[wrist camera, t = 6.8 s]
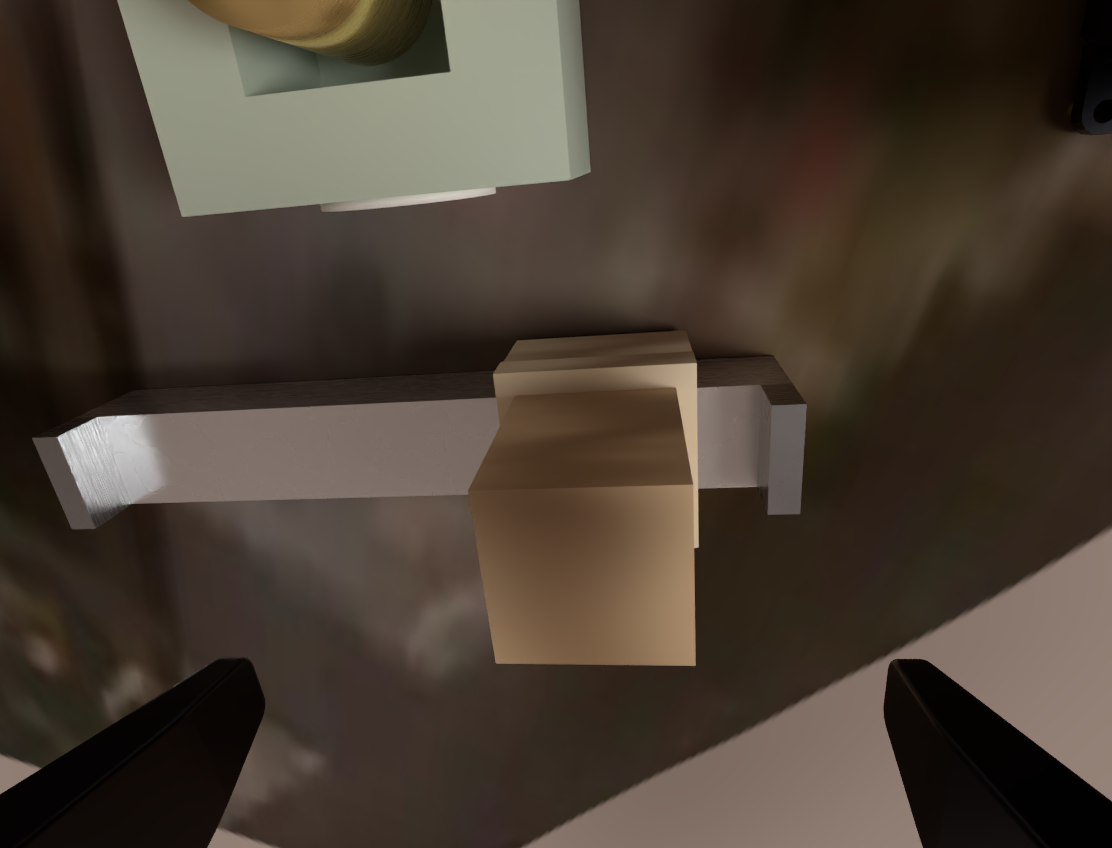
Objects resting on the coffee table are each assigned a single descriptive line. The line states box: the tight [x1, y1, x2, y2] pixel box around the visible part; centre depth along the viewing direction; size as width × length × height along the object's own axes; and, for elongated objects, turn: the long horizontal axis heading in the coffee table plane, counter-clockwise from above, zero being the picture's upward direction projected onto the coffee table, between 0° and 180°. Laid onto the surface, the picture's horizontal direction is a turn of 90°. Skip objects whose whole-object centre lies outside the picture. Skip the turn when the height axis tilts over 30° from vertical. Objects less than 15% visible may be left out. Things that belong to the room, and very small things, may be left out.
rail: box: [32, 356, 807, 529], centre depth 19 cm, size 21×3×4 cm, turn 95°
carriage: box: [468, 330, 698, 666], centre depth 16 cm, size 5×5×8 cm
